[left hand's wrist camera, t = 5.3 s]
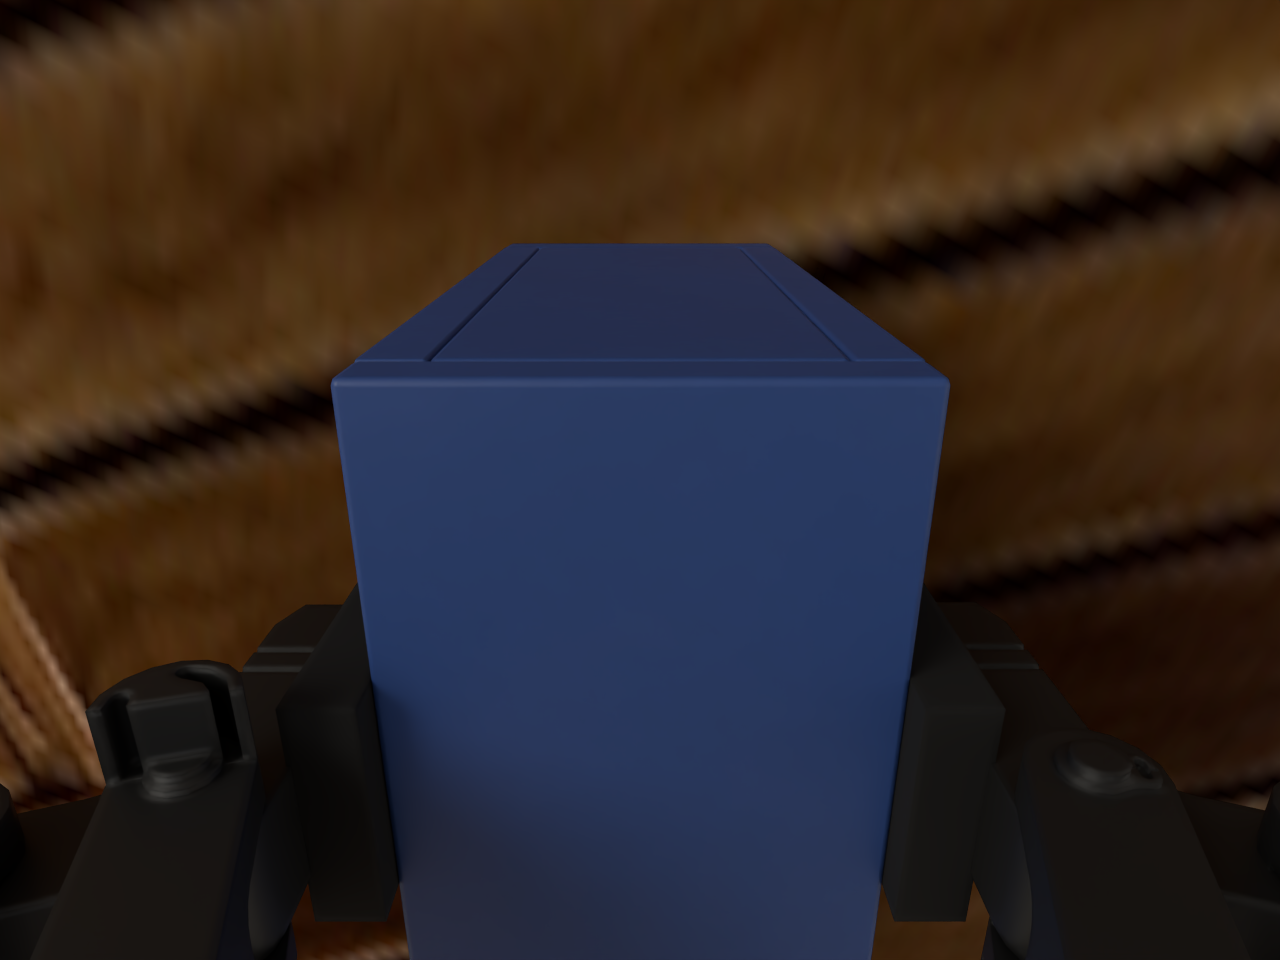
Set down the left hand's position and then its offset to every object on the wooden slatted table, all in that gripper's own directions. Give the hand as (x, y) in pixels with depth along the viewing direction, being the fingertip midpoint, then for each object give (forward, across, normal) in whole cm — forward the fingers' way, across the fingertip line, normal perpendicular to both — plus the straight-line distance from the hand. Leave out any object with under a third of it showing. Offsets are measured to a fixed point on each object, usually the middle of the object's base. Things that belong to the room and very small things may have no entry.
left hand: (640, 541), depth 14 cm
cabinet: (+5, 0, -5) cm, 7 cm away
